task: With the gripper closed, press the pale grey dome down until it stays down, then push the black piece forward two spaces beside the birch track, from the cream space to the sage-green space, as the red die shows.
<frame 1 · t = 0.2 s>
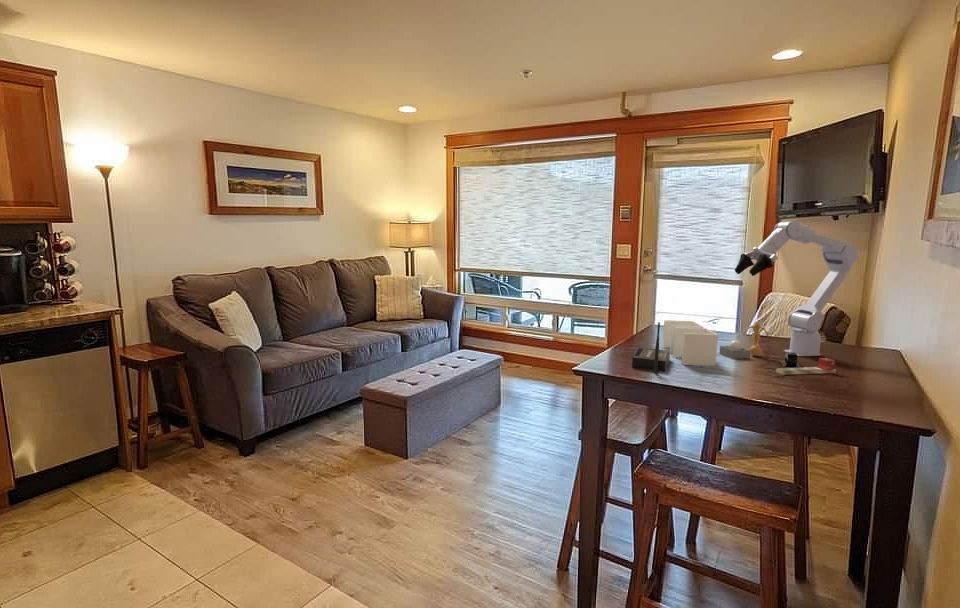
hand: (743, 273, 181), 31 cm above the table, tool tilted 45°, fingers open, 7 cm apart
space track: (805, 372, 166), on the table
dome housing: (734, 355, 186), on the table
black piece: (790, 366, 176), on the table
dome: (735, 346, 186), point 4 cm above the table, slide at 0.0 cm
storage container: (686, 356, 185), on the table
wireless controller: (650, 366, 172), on the table
figurine: (754, 355, 188), on the table
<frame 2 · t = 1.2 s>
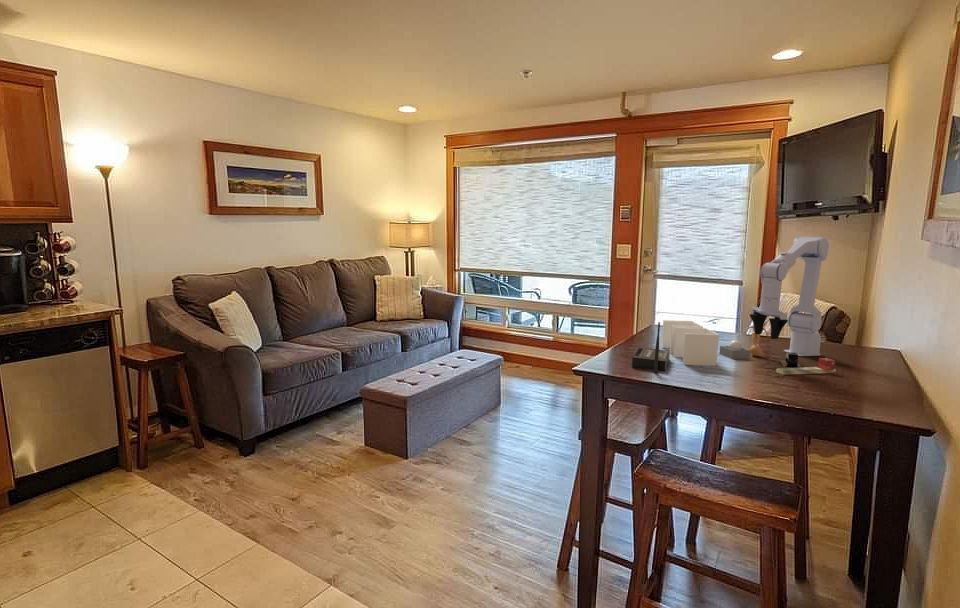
hand: (766, 336, 176), 9 cm above the table, tool pointing down, fingers open, 7 cm apart
nothing on the table moved.
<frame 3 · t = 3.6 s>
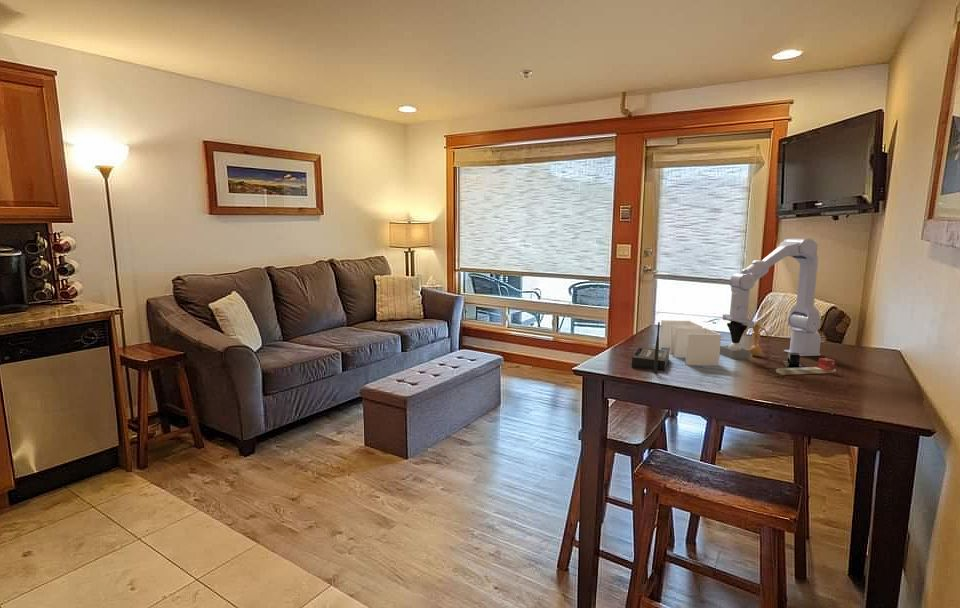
hand: (735, 342, 186), 5 cm above the table, tool pointing down, fingers closed, pressing on dome
dome: (735, 348, 186), point 3 cm above the table, slide at 0.7 cm, touching gripper
everything else where it was.
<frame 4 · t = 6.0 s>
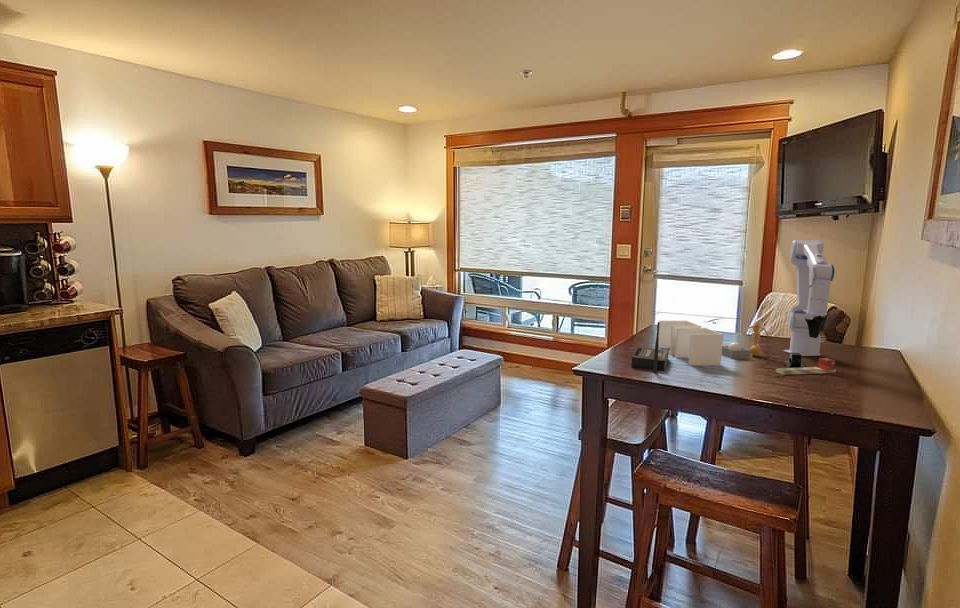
hand: (813, 337, 176), 9 cm above the table, tool pointing down, fingers closed
dome: (735, 348, 186), point 3 cm above the table, slide at 0.7 cm
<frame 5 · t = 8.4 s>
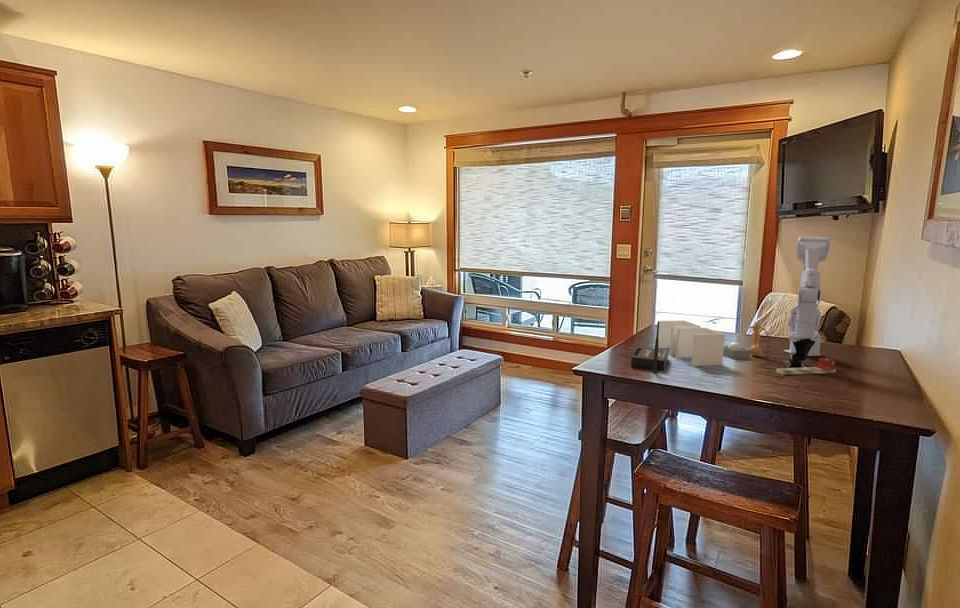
hand: (801, 360, 176), 1 cm above the table, tool pointing down, fingers closed
black piece: (794, 367, 175), on the table, touching gripper, space track
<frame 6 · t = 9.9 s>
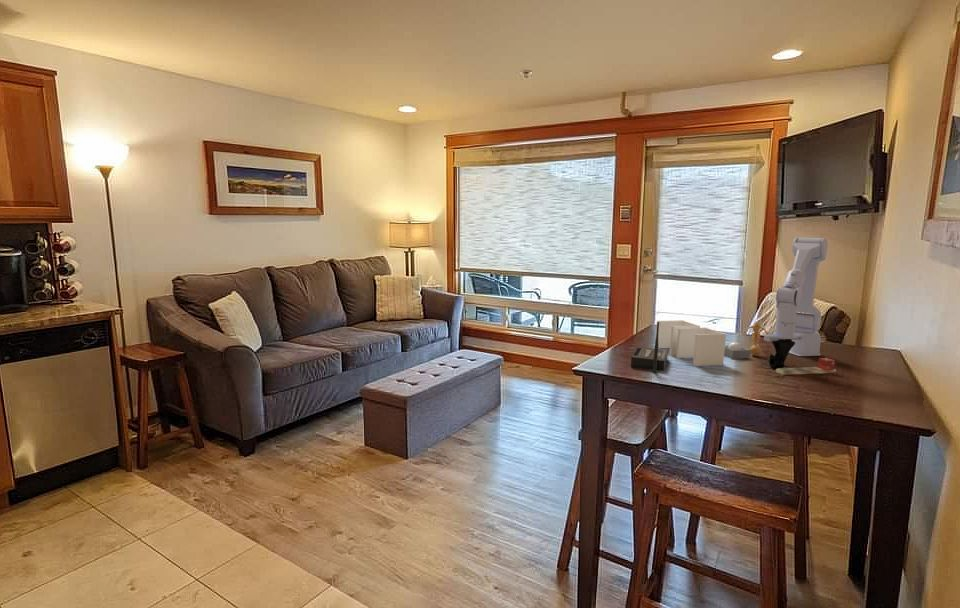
hand: (781, 360, 175), 1 cm above the table, tool pointing down, fingers closed
black piece: (775, 368, 173), on the table
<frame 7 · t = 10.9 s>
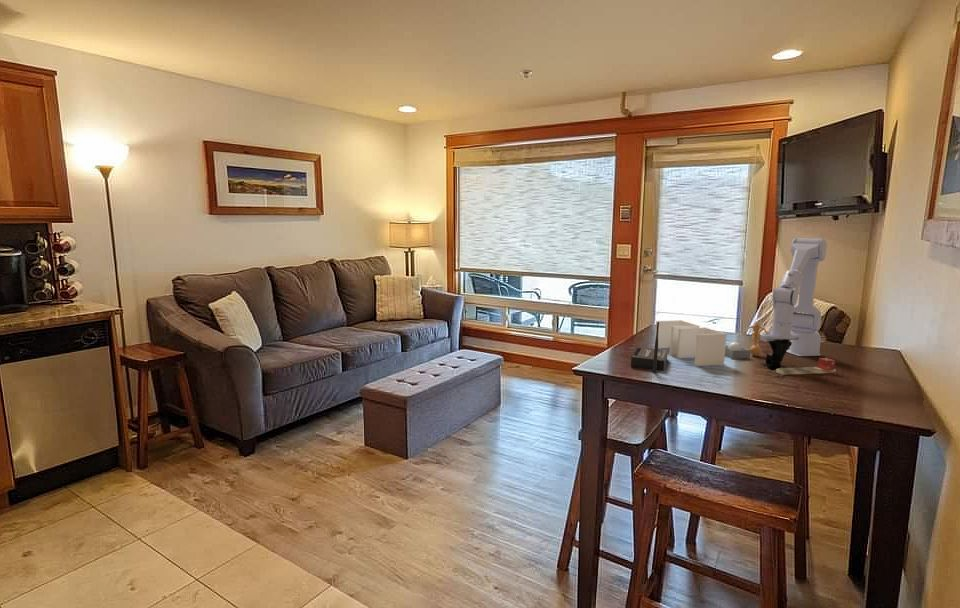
hand: (777, 360, 175), 1 cm above the table, tool pointing down, fingers closed
black piece: (772, 368, 173), on the table, touching gripper
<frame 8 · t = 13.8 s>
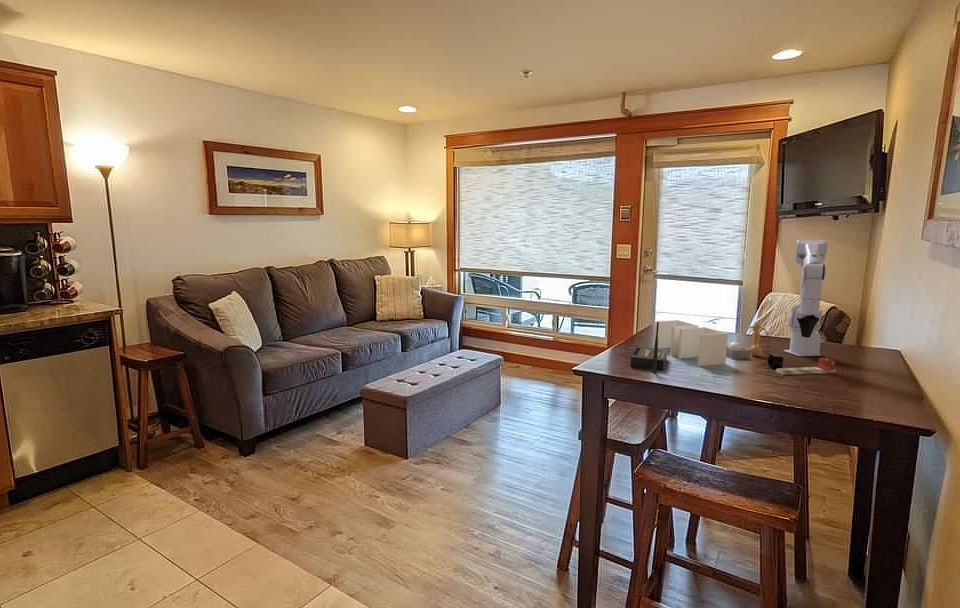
hand: (805, 337, 177), 9 cm above the table, tool pointing down, fingers closed
black piece: (774, 368, 173), on the table
at the end: dome slide at 0.7 cm; black piece inside the target area (3.4 cm from its centre), on the table; black piece tilted 0° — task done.
